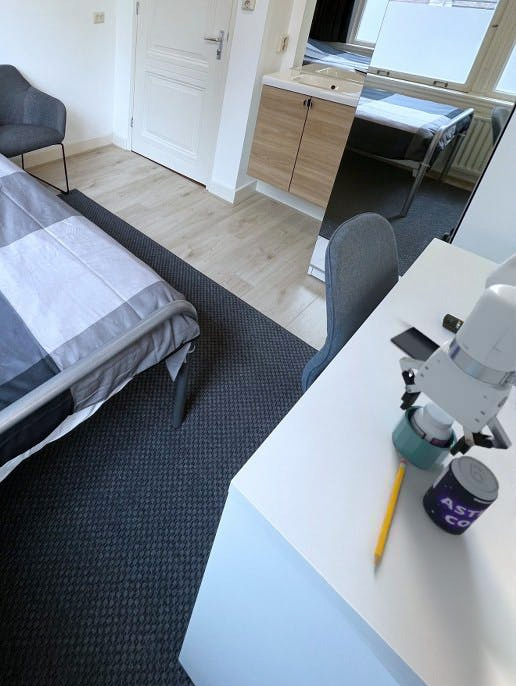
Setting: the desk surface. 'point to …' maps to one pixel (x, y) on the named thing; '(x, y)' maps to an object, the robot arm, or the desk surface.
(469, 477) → the beverage can
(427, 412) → the pill bottle
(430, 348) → the dark grey rectangular plate
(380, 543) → the pencil
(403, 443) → the cup
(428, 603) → the desk surface
